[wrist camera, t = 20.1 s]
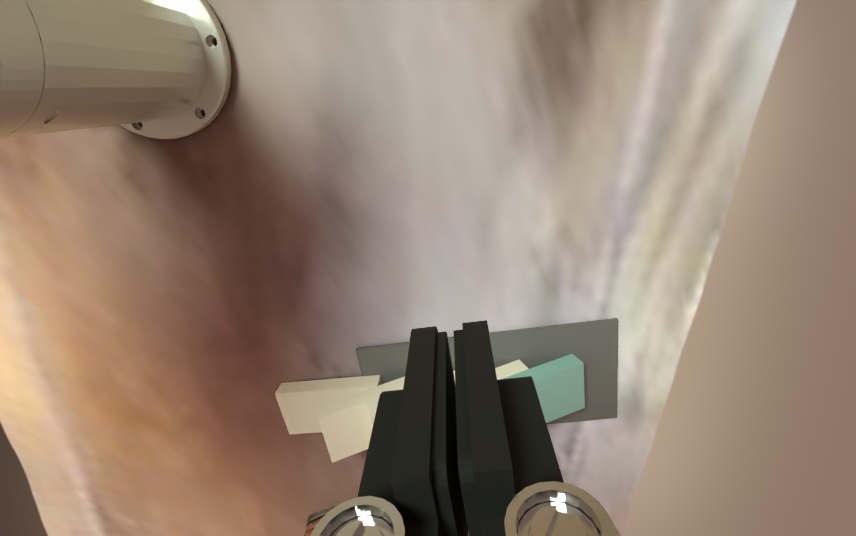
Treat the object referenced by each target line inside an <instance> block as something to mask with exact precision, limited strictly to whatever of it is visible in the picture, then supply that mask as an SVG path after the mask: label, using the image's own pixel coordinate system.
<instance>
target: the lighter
mask: <svg viewBox="0 0 856 536" xmlns="http://www.w3.org/2000/svg"><path fill="white" fill-rule="evenodd" d="M337 505H339V504H337ZM337 505H333V506H330V507H327V508H324V509H322V510H319V511H317V512H315V513H314V514H312V515H310V516H309V518H308V521H307V524H306V527H307V529H306V532H305V535H304V536H310V535H311V533H312V532H313V530H314V528H315V527H316V525H317V523H318V522H319V521H320V520H321V519H322V518H323V517H324V516H325V515H326V514H327V513H328V512H329V511H330V510H331V509H333V508H334V507H336V506H337Z"/></svg>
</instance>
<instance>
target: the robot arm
mask: <svg viewBox="0 0 856 536" xmlns="http://www.w3.org/2000/svg"><path fill="white" fill-rule="evenodd" d="M215 39H216V40H217V45H215V43H214V41H215ZM230 82H231V59H230V52H229V48H228V44H227V40H226V36H225V34H224V32H223V29H222V27H221V25H220V22H219V20H218V18H217V17H216V15H215V14H214V12H213V10H212V9H211V7H210V6H209V4H208V3H207V1H206V0H0V138H7V137H16V136H24V135H33V134H42V133H50V132H59V131H68V130H76V129H85V128H94V127H102V126H111V125H120V126H122V127H124V128H126V129H128V130H129V131H131V132H133V133H136V134H139V135H142V136H146V137H150V138H157V139H174V138H180V137H185V136H189V135H191V134H194V133H196V132H199V131H201V130H202V129H203V128H205V127H206V126H208V125H209V124H210V123H211V122H212V121H213V120H214V119H215V118H216V117H217V115H218V114H219V113H220V111H221V109H222V107H223V105H224V104H225V102H226V99H227V96H228V92H229V89H230ZM203 111H205V115H204V114H203ZM454 357H455V379H454V373H453V367H452V361H451V355H450V349H449V343H448V337H447V332H439V333H438V331H437V327H436V326H435V327H427V328H418V329H412V331H411V337H410V344H409V351H408V358H407V365H406V372H405V380H404V387H403V390H393V391H384V392H382V393H381V394H380V397H379V400H378V405H377V410H376V414H375V419H374V424H373V428H372V433H371V438H370V442H369V447H368V452H367V456H366V461H365V466H364V470H363V475H362V479H361V484H360V489H359V493H358V497H356V498H353V499H350V500H347V501H344V502H342V503H341V504H339V505H337V506H336V507H334V508H333V509H331V510H330V511H329V512H328V513H327V514H326V515H325V516H324V517H323V518H322V519H321V520H320V521H319V522H318V523H317V525H316V527H315V528H314V530H313V532H312V533H311V535H310V536H468V531H469V536H620V535H619V533H618V531H617V529H616V527H615V525H614V524H613V522H612V520H611V518H610V516H609V515H608V513H607V512H606V511H605V509H604V508H603V507H602V505H601V504H600V503H599V501H597V500H596V499H595V498H593V497H592V496H591V495H590V494H588V493H587V492H586V491H584V490H582V489H580V488H578V487H575V486H573V485H571V484H567V483H564V482H563V479H562V475H561V472H560V469H559V465H558V462H557V459H556V455H555V452H554V448H553V445H552V442H551V438H550V435H549V432H548V428H547V425H546V421H545V418H544V415H543V411H542V408H541V405H540V401H539V398H538V395H537V391H536V388H535V384H534V381H533V379H532V377H531V376H528V377H518V378H509V379H499V380H497V376H496V370H495V365H494V359H493V353H492V347H491V342H490V336H489V330H488V324H487V320H486V321H478V322H469V323H463V330H457V331H454Z"/></svg>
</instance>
